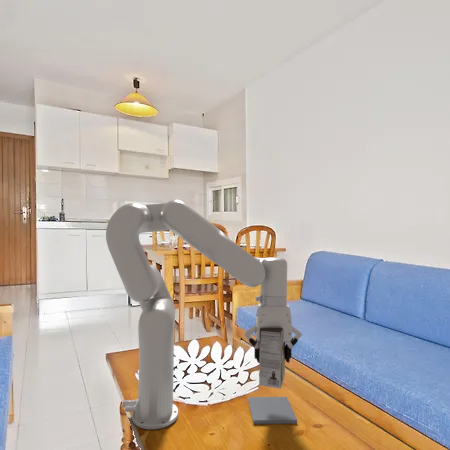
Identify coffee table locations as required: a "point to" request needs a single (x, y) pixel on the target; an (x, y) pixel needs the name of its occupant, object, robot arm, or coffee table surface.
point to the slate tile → (271, 410)
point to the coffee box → (271, 357)
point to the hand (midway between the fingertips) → (272, 360)
